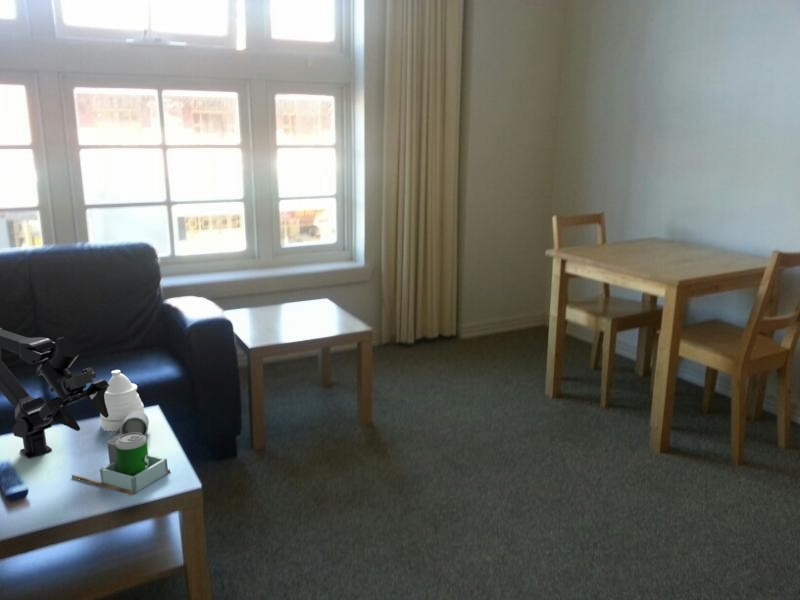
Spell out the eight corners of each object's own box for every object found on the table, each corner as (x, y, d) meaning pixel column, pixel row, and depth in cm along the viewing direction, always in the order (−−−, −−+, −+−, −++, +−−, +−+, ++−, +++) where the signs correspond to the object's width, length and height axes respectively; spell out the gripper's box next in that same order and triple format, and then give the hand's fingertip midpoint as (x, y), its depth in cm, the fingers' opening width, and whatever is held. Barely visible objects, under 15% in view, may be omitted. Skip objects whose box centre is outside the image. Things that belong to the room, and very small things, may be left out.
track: (72, 477, 176) (71, 475, 176) (111, 456, 188) (111, 454, 187) (132, 495, 167) (132, 492, 167) (170, 472, 179) (170, 469, 179)
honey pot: (140, 430, 205) (134, 375, 200) (96, 433, 203) (89, 377, 198) (148, 413, 217) (143, 361, 213) (107, 416, 215) (101, 363, 211)
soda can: (144, 486, 172) (139, 443, 169) (115, 486, 172) (109, 443, 169) (154, 472, 179) (150, 430, 176) (127, 471, 179) (122, 430, 176)
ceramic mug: (150, 429, 205) (147, 405, 204) (149, 440, 198) (146, 416, 196) (113, 434, 202) (110, 410, 201) (110, 445, 195) (107, 421, 193)
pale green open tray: (98, 482, 173) (93, 448, 171) (132, 463, 183) (129, 430, 181) (134, 492, 168) (130, 457, 166) (168, 472, 178) (164, 439, 176)
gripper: (40, 372, 168) (77, 420, 166) (100, 351, 184) (134, 395, 182) (23, 396, 173) (58, 443, 171) (83, 373, 189) (116, 416, 188)
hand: (93, 423), depth 178 cm, fingers open, 9 cm apart
